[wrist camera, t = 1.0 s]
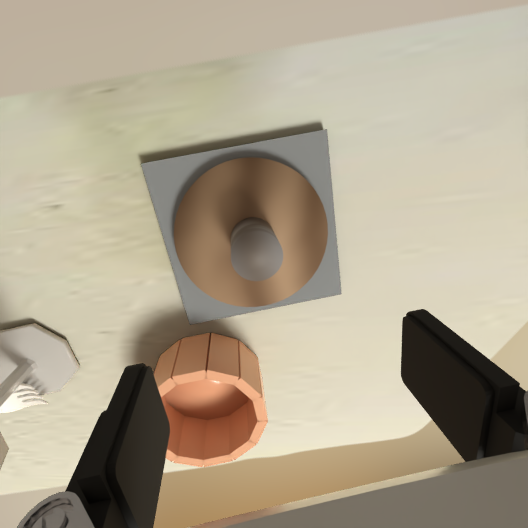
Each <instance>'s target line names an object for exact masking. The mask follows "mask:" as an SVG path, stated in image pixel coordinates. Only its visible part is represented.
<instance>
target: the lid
mask: <svg viewBox="0 0 528 528" xmlns="http://www.w3.org/2000/svg"><path fill="white" fill-rule="evenodd" d="M327 238H328V223H327V217H326V213H325V210H324V206H323V204H322V202H321V200H320V197H319V196H318V194H317V193H316V191H315V189H314V188H313V187H312V186H311V184H310V183H309V182H308V181H307V180H306V179H305V178H304V177H303V176H302V175H300V174H299V173H298V172H296V171H295V170H293V169H292V168H290V167H288V166H286V165H284V164H282V163H279V162H276V161H273V160H269V159H264V158H255V157H246V158H238V159H233V160H230V161H226V162H224V163H221V164H219V165H217V166H215V167H213V168H211V169H210V170H208V171H207V172H205V173H204V174H203V175H202V176H200V177H199V178H198V179H197V180H196V181H195V182H194V183H193V185H192V186H191V187H190V188H189V190H188V191H187V192H186V194H185V195H184V197H183V199H182V201H181V203H180V205H179V208H178V211H177V214H176V218H175V223H174V243H175V248H176V253H177V256H178V259H179V261H180V264H181V266H182V268H183V269H184V271H185V273H186V274H187V276H188V277H189V278H190V280H191V281H192V282H193V283H194V284H195V285H196V286H197V287H198V288H199V289H201V290H202V291H203V292H204V293H206V294H207V295H209V296H210V297H212V298H214V299H216V300H218V301H221V302H223V303H226V304H230V305H234V306H241V307H259V306H266V305H270V304H273V303H276V302H279V301H281V300H284V299H286V298H288V297H289V296H291V295H293V294H294V293H296V292H297V291H298V290H300V289H301V288H302V287H303V286H304V285H305V284H306V283H307V282H308V281H309V280H310V279H311V278H312V276H313V275H314V274H315V272H316V271H317V269H318V267H319V265H320V263H321V261H322V259H323V256H324V253H325V250H326V245H327Z"/></svg>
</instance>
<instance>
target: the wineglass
mask: <svg viewBox="0 0 528 528" xmlns="http://www.w3.org/2000/svg"><path fill="white" fill-rule="evenodd" d="M79 368H80V366H79V364H78V362H77V360H76V358H75V356H74V354H73V352H72V350H71V348H70V346H69V344H68V342H67V341H66V340H65V339H63V338H61V337H59V336H57V335H56V334H54V333H52V332H50V331H48V330H47V329H45V328H43V327H41V326H39V325H38V324H36V323H33V324H28V325H24V326H19V327H14V328H10V329H5V330H1V331H0V407H1V406H2V405H3V404H4V403H5V402H6V401H7V399H8V398H9V397H10V396H11V395H12V394H13V393H14V392H19V391H22V390H24V389H20V390H16V389H17V388H18V387H19V386H20V385H21V384H22V383H25V384H28V385H30V386H32V387H34V388H35V389H32V390H35V391H37V392H38V393H39V394H37V395H45V394H49V393H54V392H58V391H61V390H62V389H63V388H64V387H65V385H66V384H67V383H68V382H69V381H70V379H71V378H72V377H73V376H74V375H75V373H76V372H77V371H78V370H79ZM27 389H28V388H27ZM15 390H16V391H15ZM28 394H36V393H28ZM28 394H23V395H24V396H25V395H28ZM8 450H9V448H8V446H7V444H6V442H5V440H4V438H3V436H2V434H1V432H0V469H1V467H2V464H3V462H4V459H5V457H6V454H7V452H8Z"/></svg>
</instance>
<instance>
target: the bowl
mask: <svg viewBox="0 0 528 528" xmlns="http://www.w3.org/2000/svg"><path fill="white" fill-rule="evenodd" d="M153 375H154V378H155V381H156V384H157V387H158V390H159V393H160V396H161V399H162V402H163V405H164V408H165V411H166V414H167V417H168V420H169V424H170V436H169V441H168V447H167V452H166V458H167V459H168V460H170V461H171V462H172V461H174V462H173V463H180V464H186V465H192V466H199V467H202V466H203V465H204V467H206V466H211V465H216V464H220V463H225V462H229V461H233V459H234V460H235V459H237V458H238V457H239V456H241V455H242V454H244V453H245V452H247V451H248V450H249V449H251V448H252V447H254V446H255V445H256V443H258V441H259V439H260V437H261V435H262V433H263V431H264V428H265V426H266V424H267V422H268V421H267V420H268V418H267V411H266V403H265V396H264V388H263V381H262V375H261V371H260V366H259V362H258V358H257V356H256V355H255V354H254V353H253V352H252V351H251V350H249V349H248V348H247V347H246V346H245V345H244V344H243V343H242V342H241V341H240V340H239V341H238V339H235V338H231V337H227V336H223V335H219V334H215V333H211V335H210V333H205V334H200V335H195V336H191V337H186V338H182V340H181V339H180V340H178V341H177V342H176V343H175V344H174V345H172V346H171V347H170V348H169V349H167V350H166V351H165V352H164V353H163V354H161V355H160V357H159V360H158V363H157V366H156V368H155V371H154V374H153Z"/></svg>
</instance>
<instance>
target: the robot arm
mask: <svg viewBox="0 0 528 528" xmlns="http://www.w3.org/2000/svg"><path fill="white" fill-rule="evenodd" d="M401 377H402V380H403V382H404V384H405V385H406V386H407V388H408V389H409V390H410V392H411V393H412V394H413V395H414V397H415V398H416V399H417V400H418V402H419V403H420V404H421V406H422V407H423V408H424V409H425V411H426V412H427V413H428V414H429V416H430V417H431V418H432V420H433V421H434V422H435V423H436V425H437V426H438V427H439V428H440V430H441V431H442V432H443V433H444V435H445V436H446V437H447V439H448V440H449V441H450V442H451V444H452V445H453V446H454V448H455V449H456V450H457V451H458V453H459V454H460V455H461V456H462V458H463V459H464V460H465V462H464V463H459V464H454V465H450V466H446V467H441V468H437V469H432V470H428V471H424V472H420V473H415V474H411V475H406V476H402V477H397V478H393V479H389V480H384V481H380V482H376V483H371V484H367V485H363V486H359V487H355V488H350V489H346V490H341V491H337V492H333V493H329V494H325V495H320V496H316V497H312V498H307V499H304V500H299V501H295V502H291V503H286V504H282V505H278V506H274V507H270V508H265V509H262V510H257V511H253V512H249V513H245V514H241V515H236V516H232V517H228V518H224V519H220V520H216V521H212V522H208V523H204V524H200V525H196V526H192V527H188V528H528V391H527V392H526V391H525V390H523V389H522V388H521V387H520V386H519V385H520V383H519V382H517V381H516V380H515V379H514V378H512V377H511V376H510V375H508V374H507V373H506V372H505V371H503V370H502V369H501V368H499V367H498V366H497V365H496V364H494V363H493V362H492V361H490V360H489V359H488V358H487V357H485V356H484V355H483V354H482V353H480V352H479V351H478V350H476V349H475V348H474V347H473V346H471V345H470V344H469V343H467V342H466V341H465V340H464V339H462V338H461V337H460V336H458V335H457V334H456V333H455V332H453V331H452V330H451V329H449V328H448V327H447V326H446V325H444V324H443V323H442V322H441V321H439V320H438V319H437V318H435V317H434V316H433V315H432V314H430V313H429V312H428V311H426V310H425V309H421V310H415V311H410V312H408V313H407V314H406V316H405V317H403V324H402V357H401ZM169 436H170V424H169V420H168V417H167V414H166V411H165V408H164V405H163V402H162V399H161V396H160V393H159V390H158V387H157V384H156V381H155V378H154V375H153V372H152V369H151V367H150V366H148V367H146V366H145V364H143V363H141V364H136V365H131V366H127V367H126V368H125V369H124V372H123V374H122V376H121V379H120V381H119V383H118V385H117V388H116V390H115V392H114V395H113V397H112V399H111V401H110V404H109V406H108V408H107V410H106V411H104V412H102V413H101V415H100V417H99V419H98V421H97V423H96V425H95V427H94V430H93V432H92V434H91V436H90V438H89V441H88V443H87V445H86V447H85V449H84V452H83V454H82V456H81V458H80V460H79V463H78V465H77V467H76V469H75V471H74V474H73V476H72V478H71V480H70V482H69V485H68V487H67V489H66V491H65V492H59V493H56V494H54V495H51V496H49V497H48V498H46V499H44V500H43V501H41V502H40V503H38V504H37V505H36V506H35V507H34V508H33V509H31V510H30V511H29V512H28V513H27V515H26V516H25V517H24V518H23V519H22V520H21V522H20V523H19V525H18V526H17V528H153V525H154V519H155V514H156V508H157V503H158V496H159V492H160V486H161V480H162V475H163V469H164V464H165V458H166V452H167V447H168V441H169Z"/></svg>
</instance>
